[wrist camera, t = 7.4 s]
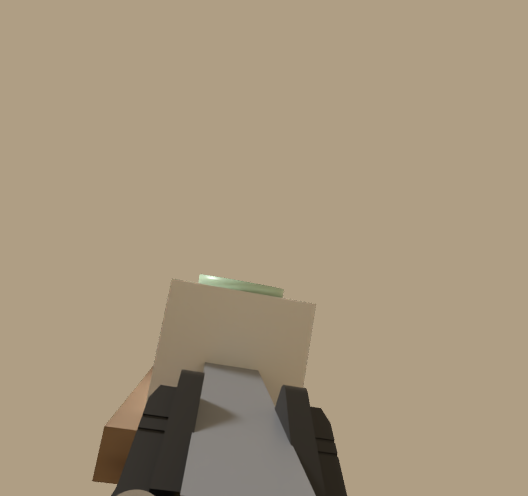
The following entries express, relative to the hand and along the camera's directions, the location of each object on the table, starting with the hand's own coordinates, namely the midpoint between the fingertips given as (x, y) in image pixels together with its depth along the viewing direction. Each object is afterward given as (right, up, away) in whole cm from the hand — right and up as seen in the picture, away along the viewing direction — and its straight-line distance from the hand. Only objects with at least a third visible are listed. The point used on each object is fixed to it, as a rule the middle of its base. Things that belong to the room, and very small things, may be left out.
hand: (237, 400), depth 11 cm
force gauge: (-1, -3, +4) cm, 5 cm away
